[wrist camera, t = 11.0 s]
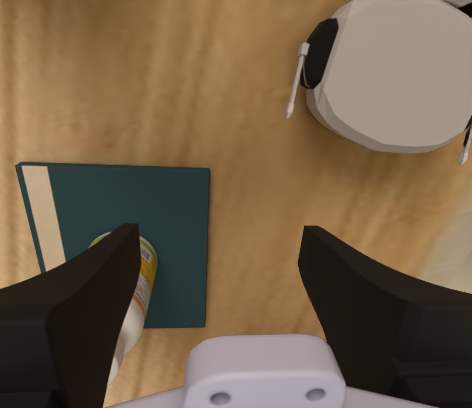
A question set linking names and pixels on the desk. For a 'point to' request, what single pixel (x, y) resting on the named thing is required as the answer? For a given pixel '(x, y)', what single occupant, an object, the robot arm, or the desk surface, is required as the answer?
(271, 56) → the desk surface
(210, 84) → the desk surface
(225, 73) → the desk surface
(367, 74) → the robot toy
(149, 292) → the supplement bottle
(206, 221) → the teal notebook
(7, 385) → the robot arm
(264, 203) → the desk surface
